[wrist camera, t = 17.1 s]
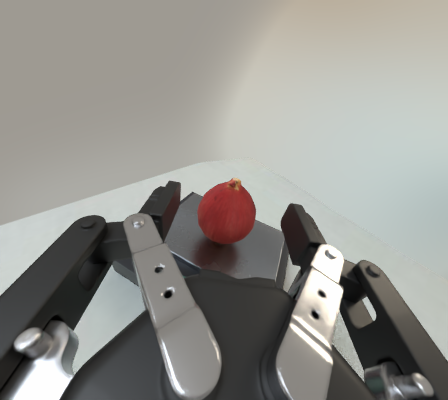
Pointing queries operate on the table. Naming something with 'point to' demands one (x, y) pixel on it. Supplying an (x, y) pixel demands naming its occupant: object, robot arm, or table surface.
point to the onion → (227, 212)
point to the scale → (219, 249)
